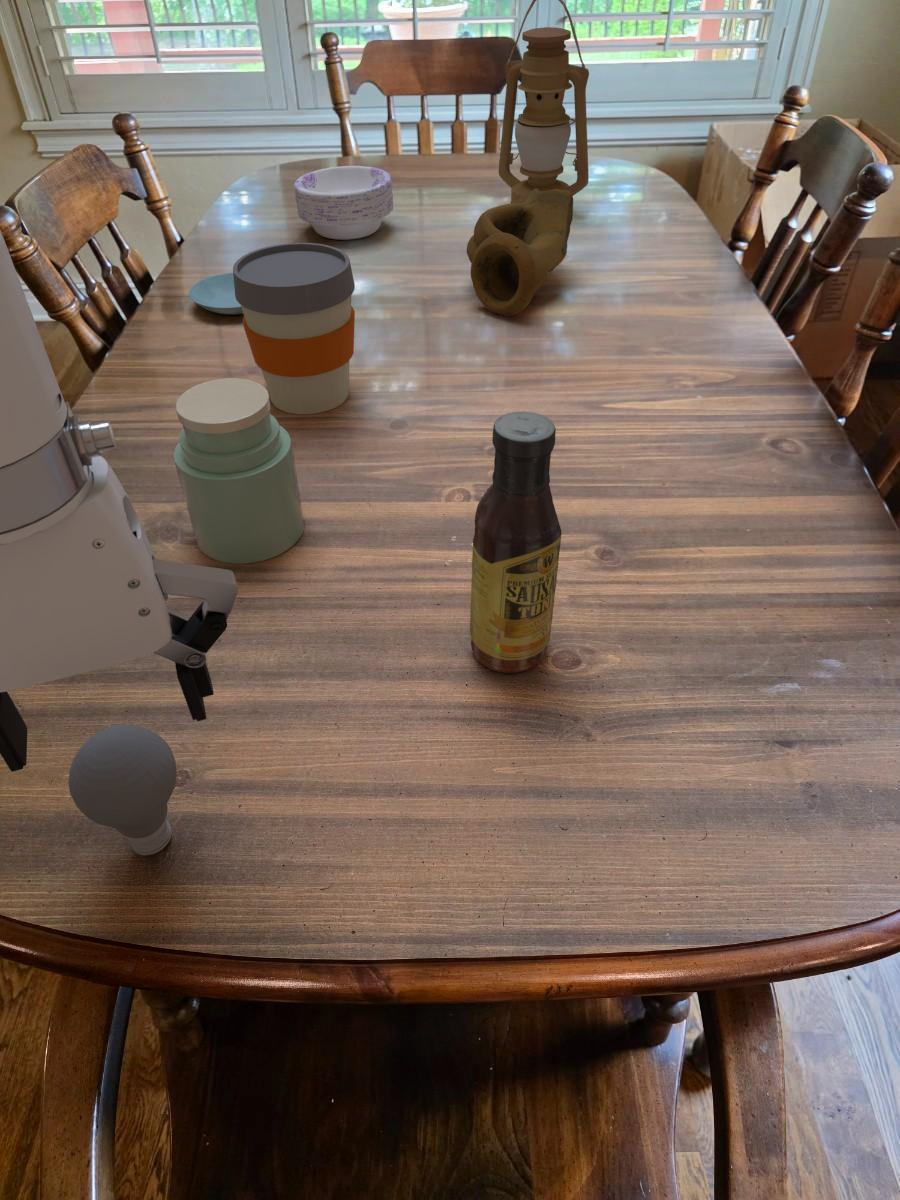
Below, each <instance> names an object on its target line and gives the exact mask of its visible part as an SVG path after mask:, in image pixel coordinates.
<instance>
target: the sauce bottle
mask: <svg viewBox="0 0 900 1200" xmlns="http://www.w3.org/2000/svg"><path fill="white" fill-rule="evenodd" d="M556 430H557V429H556V426H555V424H554V422H553V421H552V419H551V418H549V417H547V416H545V415H543V414H541V413H537V412H533V411H513V412H508V413H505V414H503V415H501V416H500V417H498V418H497V419H496V420H495V421H494V423H493V428H492V437H491V438H492V439H491V441H492V445H493V447H494V459H493V460H494V461H493V464H494V467H493V472H492V478H491V479H492V484H491V485H490V486H489V487H488V488H487V489H486V492H484V493H483V495H482V496H481V498H480V500H479V502H478V504H477V507H476V510H475V516H474V535H473V538H472V551H471V552H472V553H471V554H472V555H471V584H470V586H471V587H470V610H469V611H470V614H469V615H470V617H469V618H470V619H469V634H470V638H471V639H470V646H471V651H472V652H473V655H474V657H475V658H476V660H477V661H478V662H479V663H481V664H482V665H483V666H484V667H485V668H488V669H489V670H491V671H494V672H497V673H498V672H499V673H506V674H507V673H508V674H512V673H520V672H525V671H527V670H528V671H529V670H531V668H534V667H536V666H537V665H538V664H539V663H540V662H541V660H542V659H543V657H544V655H545V653H546V651H547V649H548V644H549V642H550V639H551V633H552V632H551V631H552V623H553V614H554V607H555V606H554V604H555V597H556V596H555V595H556V589H557V578H558V571H559V561H560V553H561V543H562V535H563V532H562V529H561V524H560V521H559V518H558V514H557V511H556V508H555V504H554V500H553V495H552V491H551V486H550V482H551V476H550V467H551V456H552V452H553V450H554V448H555V444H556V432H557V431H556Z"/></svg>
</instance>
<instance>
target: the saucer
mask: <svg viewBox="0 0 900 1200" xmlns="http://www.w3.org/2000/svg"><path fill="white" fill-rule="evenodd" d="M188 297H189V298H190V300H191V301H193V303H195V304H196V305H198V306H199V307H201V308H203V309H205V310H207V311H210V312H212V313H216V314H219V315H228V316H235V315H236V316H237V315H244V313H243V310H242V307H241V305H240V304H239V303H238V301H237V300H236V297H235V289H234V276H233V272H227V273H220V274H216V275H212V276H209V277H206V278H204V279H201V280H199V281H197V282H196V283H195V284H193V285H192V286H191V287H190V289H189V291H188Z"/></svg>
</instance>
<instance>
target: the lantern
mask: <svg viewBox="0 0 900 1200" xmlns="http://www.w3.org/2000/svg"><path fill="white" fill-rule="evenodd" d="M558 1H559V3H560V4H561V5H562V6H563V9H564V11H565V13H566V15H567V18H568V21H569V24H570V29H571V30H569V29H566V28H562V27H553V26H552V27H549V26H548V27H547V26H544V27H536V28H531V29H528V30H525V31H523V32H522V30H523V28H524V25H525V22H526V20H527V17H528V15H529V13H530V12H531V10H532V8H533V6H534V5H535V3H536V2H537V0H532V1H531V3H530V5H529V7H528V9H527V10H526V12H525V15H524V16H523V17H524V18H523V20H522V22H521V26H520V28H519V32H518V34H517V37H516V40H515V42H514V44H513V47H512V49H511V51H510V55H509V58H508V60H507V62H505V63H504V73H505V81H506V85H505V87H506V88H505V97H504V107H503V109H504V110H503V119H502V129H501V139H500V150H499V160H498V175H499V177H500V179H501V180H502V181H503V182H504V183H505V184H506V185H507V186H508V187H509V188H510V193H511V194H510V203H509V204H512V203H516V201H517V200H518V199H520V198H522V197H525V196H527V195H528V194H529V193H530V192H531V191H533V190H534V189H535V188H537V189H538V190H539V191H549V190H553V189H560V190H563V191H565V190H568V191H570V192H571V194H572V196H573V197H574V196H575V195H576V194H578V193H579V192H581V191H582V190H584V189H585V188H586V187H587V186H588V184H589V155H588V154H589V153H588V152H589V150H588V149H589V148H588V146H589V145H588V123H587V122H588V121H587V96H586V95H587V93H586V91H587V84H588V80H589V76H590V71H589V69H588V68H586V65H585V63H584V62H583V58H582V53H581V51H580V45H579V41H578V37H577V33H576V29H575V26H574V23H573V20H572V17H571V13H570V11H569V9H568V7H567V5H566V3H565V1H564V0H558ZM520 36H522V37H521V39H522V41H523V42H526V43H527V42H528V43H527V46H525V48H526V49H527V50H526V51H524V52H523V53H522V60H513V59H512V56H513V54H514V52H515V49H516V47H517V44H518V41H519V39H520ZM572 36H573V39H574V43H575V46H576V51H577V53H578V57H579V61H580V63H581V66H580V65H575V64H570V57H569V56H570V52H569V51H568V50H566V49H565V48H566V47H567V45H566V44H565V42H566V41H568V40H570V39H571V38H572ZM520 77H521V81H520V83H519V79H520ZM571 88H573V92H574V93H573V94H574V97H573V98H574V99H573V100H574V118H572V117H571V116H570V115H569V114H567V113H566V108H565V107H564V105H563V103H564V99H565V93H566V91H567V90H570V89H571ZM518 90H520V91H522V92H524V98H525V105H526V106H524V109H523V110H522V113H519V114H518V118H517V122H516V124H515V117H516V116H515V115H516V114H515V113H516V105H517V96H518V95H517V94H518ZM570 121H572V122H570ZM573 124H575V127H574V128H575V152H568V151H567V148H568V145H569V142H570V138H571V133H572V126H571V125H573ZM514 125H515V127H514ZM513 134H514V136H513ZM513 137H514V138H515V142H516V146H517V151H518V154H516V156H515V157H514V153H513V152H512V147H513V145H512V144H513ZM566 154H567V155H574V156H575V158H574V159H573V161H572V166H573V167H574V171H575V172H576V181H575V182H573V183H572V184H570V185H569V184H568V183H567V182H565V181H563V180H559V179H557V178H558V177H559V176H560V175H561V174H563V173H564V165H563V162H564V158H565V155H566ZM518 157H519V160H520V164H521V166H520V167H519V173H520V174H521V175H522V176H525V177H527V179H523V180H520V179H518V178H517V177H516V176H515V175H514V174H513V173H512V172H511V168H510V165H513V163H514V160H516V159H518Z"/></svg>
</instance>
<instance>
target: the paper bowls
mask: <svg viewBox="0 0 900 1200" xmlns="http://www.w3.org/2000/svg"><path fill="white" fill-rule="evenodd" d="M293 189H294V197H295V205H296V209H297V213H298V217H299V219H301V220H302V221H304V222H305V223H308V224H311V226H312V228H313V229H314V231H315V233H317V234H318V235H319V236H321V237H323V238H327V239H330V240H340V241H349V240H358V239H363V238H365V237H369V236H371V235H373V234H374V233H376V232H377V231H378V230H379V229H380V227H381V225H382V222H383V218H385V217H387V216H389V215H390V214H391V213H392V212H393V210H394V194H393V179H392V177H391V175H390V173H388V172H387V171H385V170H383V169H381V168H378V167H373V166H365V165H341V166H340V165H339V166H332V167H326V168H321V169H317V170H312V171H310V172H306V173H304V174H303V175H301V176H299V177H298V178H297V179H296V180H295V182H294V183H293Z"/></svg>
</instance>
